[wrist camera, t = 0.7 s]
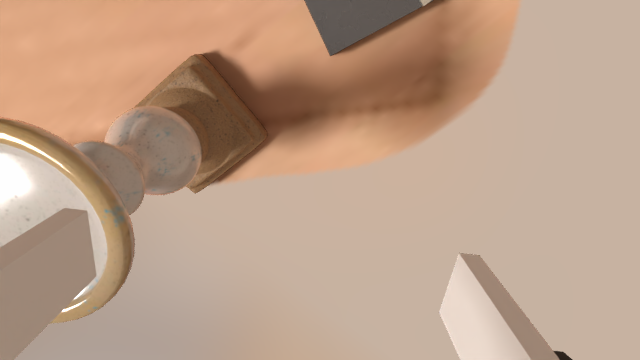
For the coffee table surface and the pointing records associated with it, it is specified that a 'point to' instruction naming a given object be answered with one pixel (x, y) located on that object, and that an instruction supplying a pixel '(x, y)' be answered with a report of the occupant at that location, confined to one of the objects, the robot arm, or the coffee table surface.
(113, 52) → the coffee table surface
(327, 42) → the stand
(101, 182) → the candle holder
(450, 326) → the robot arm
